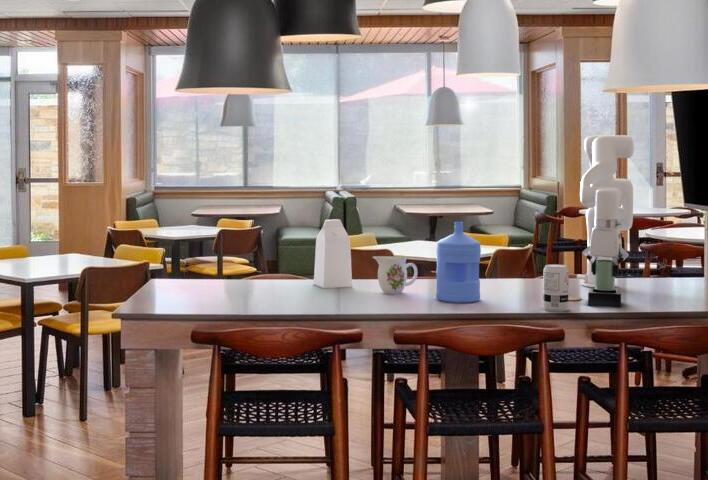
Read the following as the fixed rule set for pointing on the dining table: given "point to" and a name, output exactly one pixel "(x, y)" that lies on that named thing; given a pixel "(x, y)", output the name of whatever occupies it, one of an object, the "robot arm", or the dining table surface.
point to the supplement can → (555, 287)
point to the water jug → (458, 267)
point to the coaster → (573, 298)
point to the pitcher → (393, 273)
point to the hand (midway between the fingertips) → (604, 274)
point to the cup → (604, 275)
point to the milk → (333, 256)
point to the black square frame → (604, 298)
